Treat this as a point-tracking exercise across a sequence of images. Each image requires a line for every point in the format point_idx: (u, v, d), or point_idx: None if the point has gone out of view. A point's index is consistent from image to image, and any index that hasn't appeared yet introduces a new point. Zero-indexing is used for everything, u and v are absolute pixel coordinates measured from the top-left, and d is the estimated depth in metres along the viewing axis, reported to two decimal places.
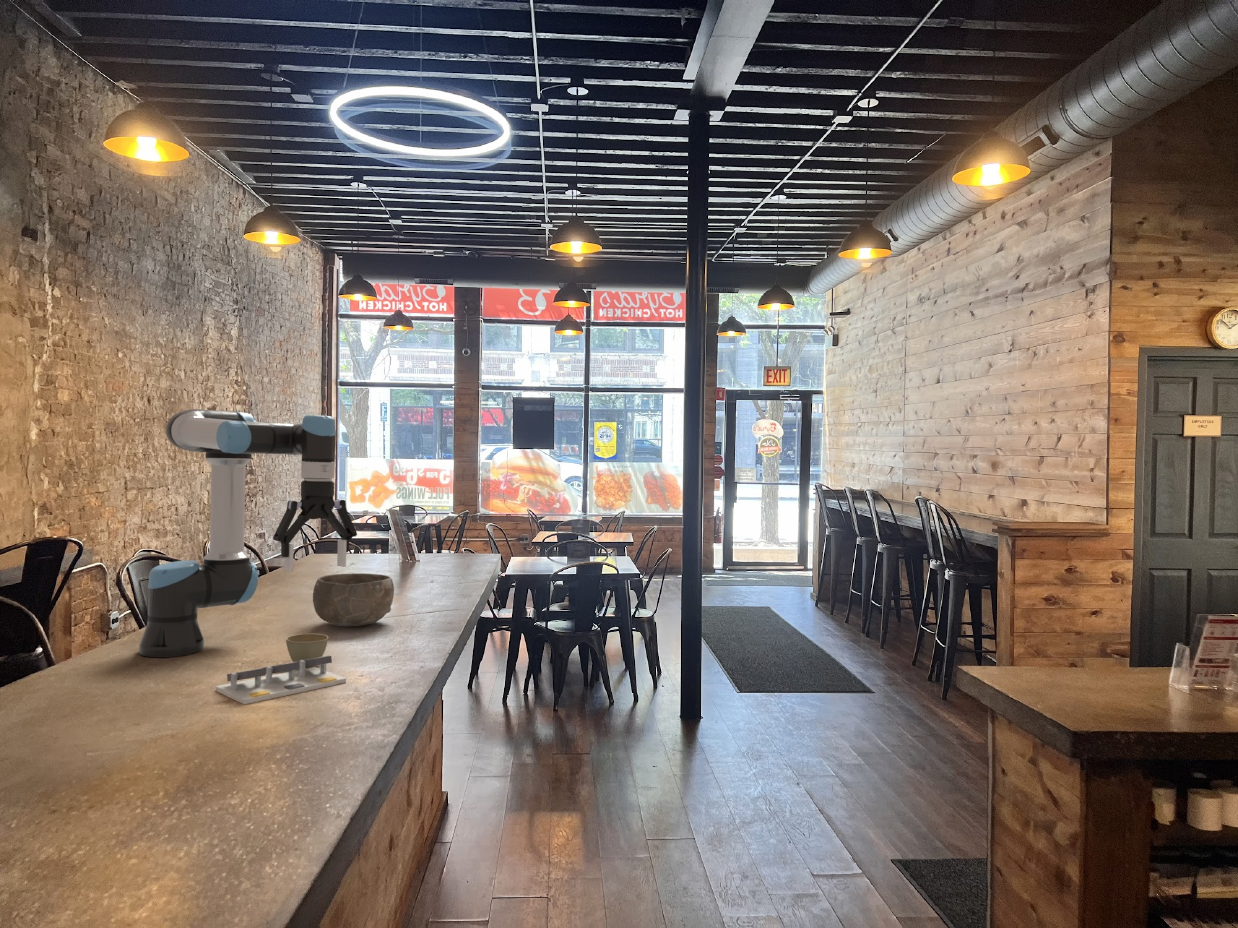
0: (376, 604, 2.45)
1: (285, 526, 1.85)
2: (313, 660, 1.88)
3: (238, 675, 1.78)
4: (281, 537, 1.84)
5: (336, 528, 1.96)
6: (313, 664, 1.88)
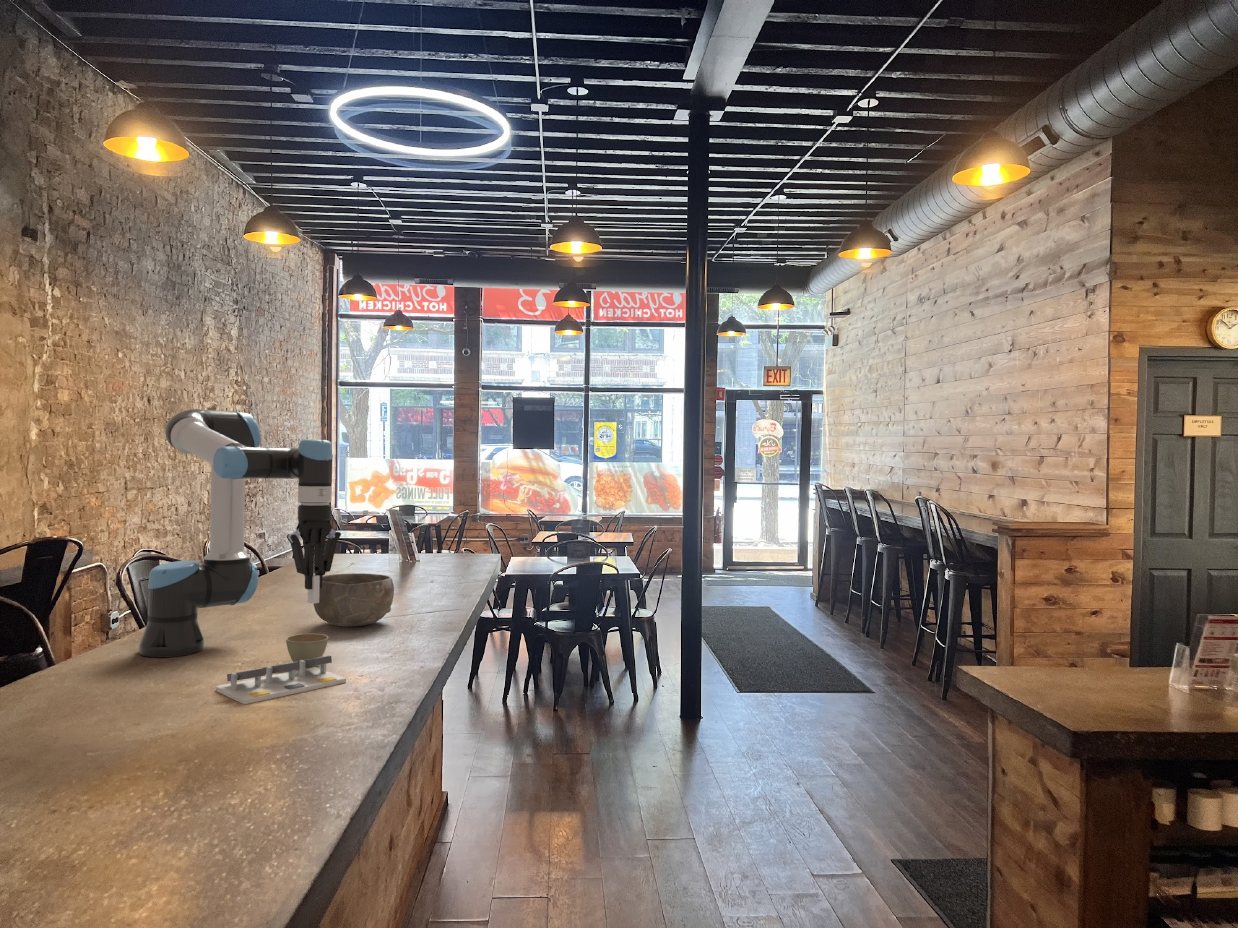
0: (376, 604, 2.45)
1: (300, 559, 1.88)
2: (313, 660, 1.88)
3: (238, 675, 1.78)
4: (304, 570, 1.89)
5: (317, 558, 1.93)
6: (313, 664, 1.88)
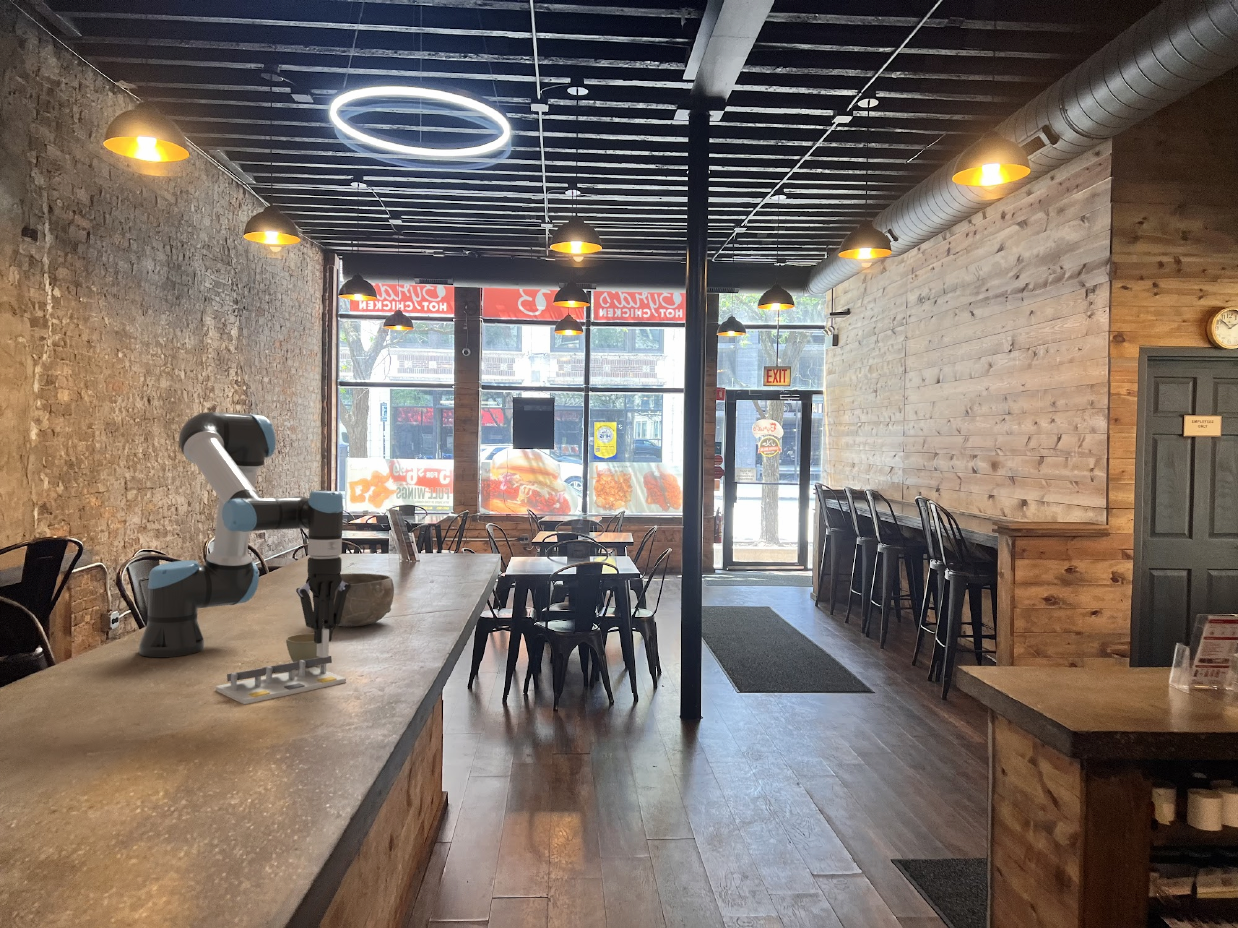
0: (376, 604, 2.45)
1: (310, 614, 1.85)
2: (313, 660, 1.88)
3: (238, 675, 1.78)
4: (313, 624, 1.86)
5: (326, 611, 1.90)
6: (313, 664, 1.88)
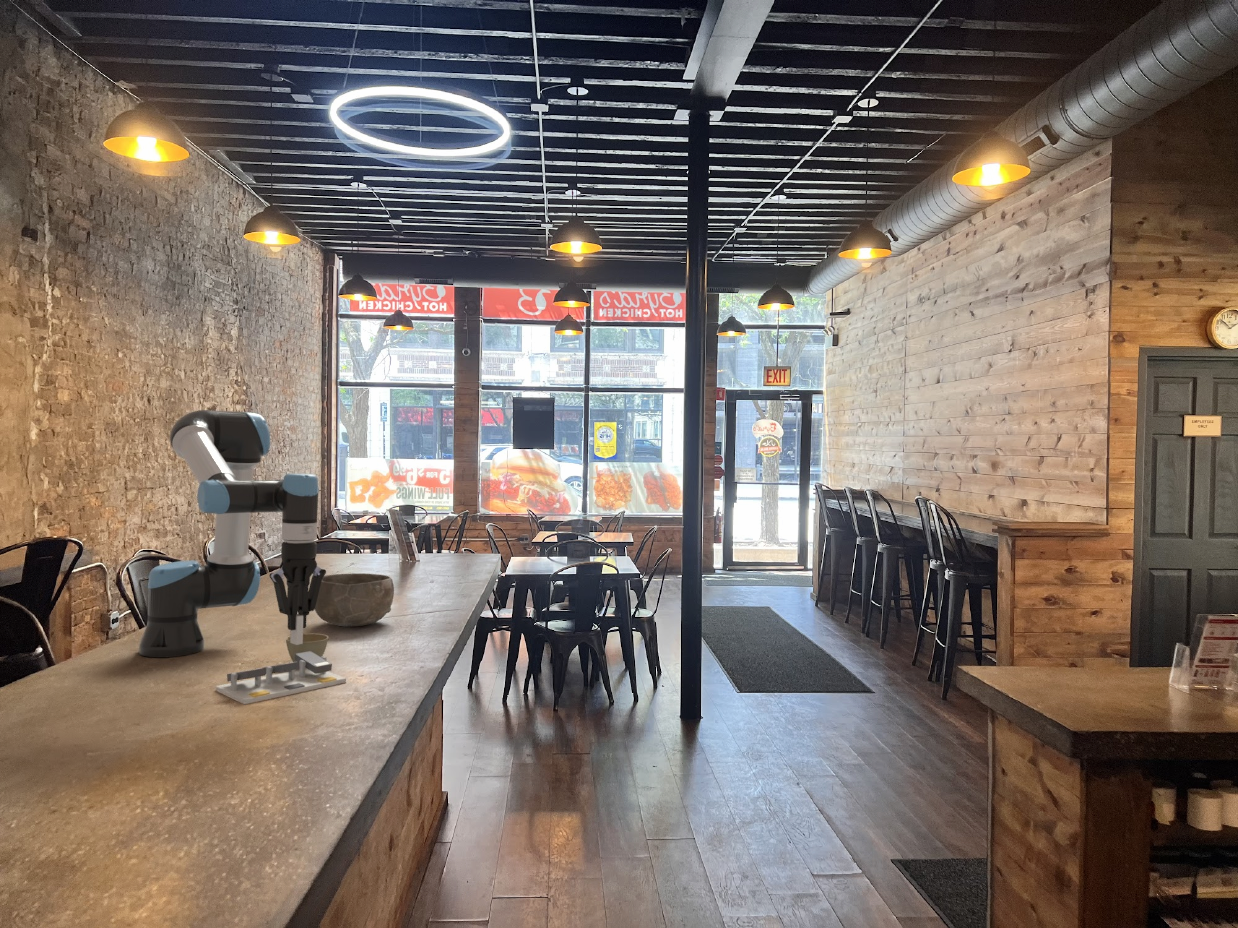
0: (376, 604, 2.45)
1: (284, 600, 1.80)
2: (313, 667, 1.88)
3: (238, 675, 1.78)
4: (287, 610, 1.81)
5: (300, 597, 1.85)
6: (313, 670, 1.88)
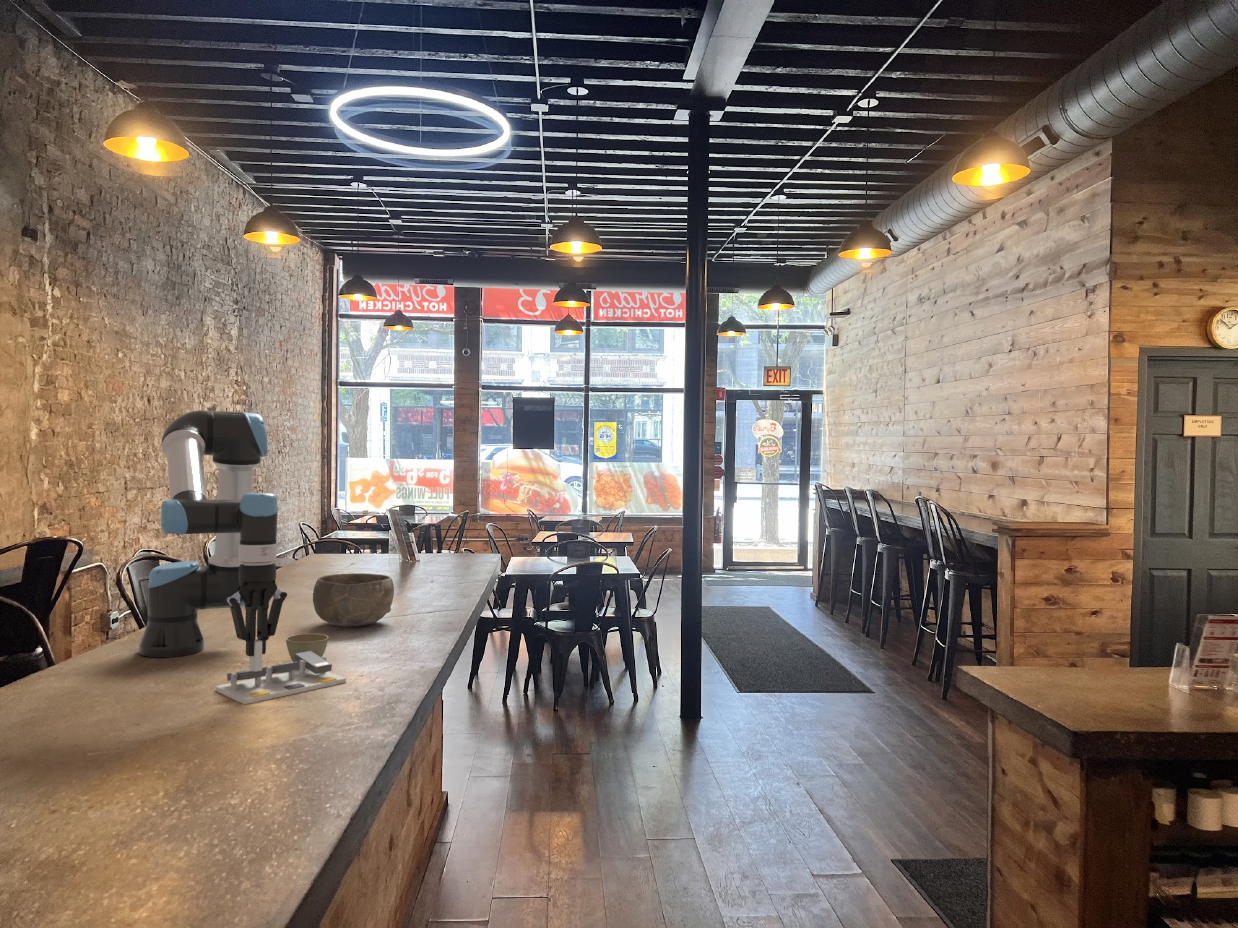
0: (376, 604, 2.45)
1: (240, 624, 1.73)
2: (313, 667, 1.88)
3: (238, 675, 1.78)
4: (244, 635, 1.74)
5: (260, 621, 1.77)
6: (313, 670, 1.88)
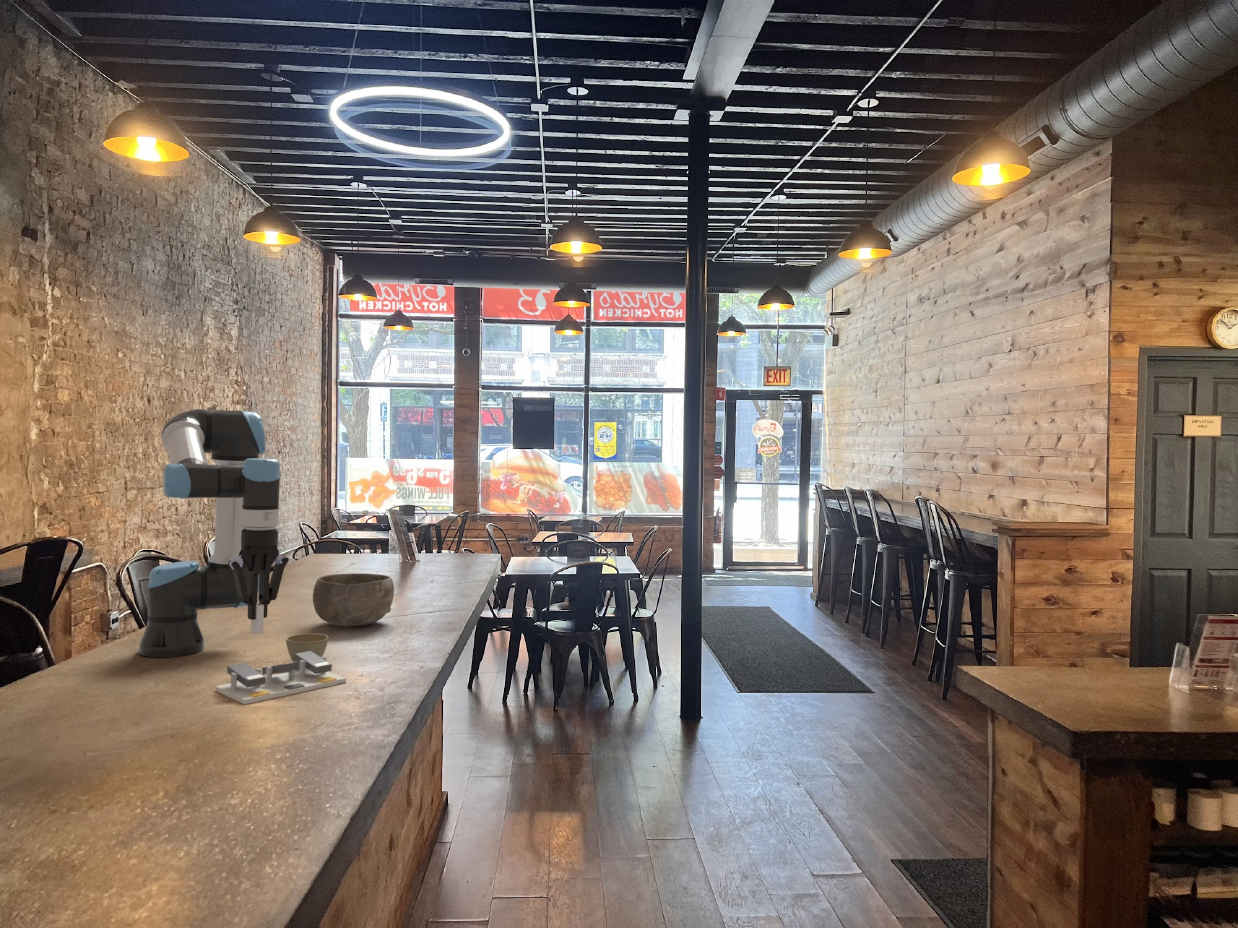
0: (376, 604, 2.45)
1: (242, 588, 1.75)
2: (313, 667, 1.88)
3: (238, 676, 1.78)
4: (246, 599, 1.76)
5: (261, 585, 1.79)
6: (313, 670, 1.88)
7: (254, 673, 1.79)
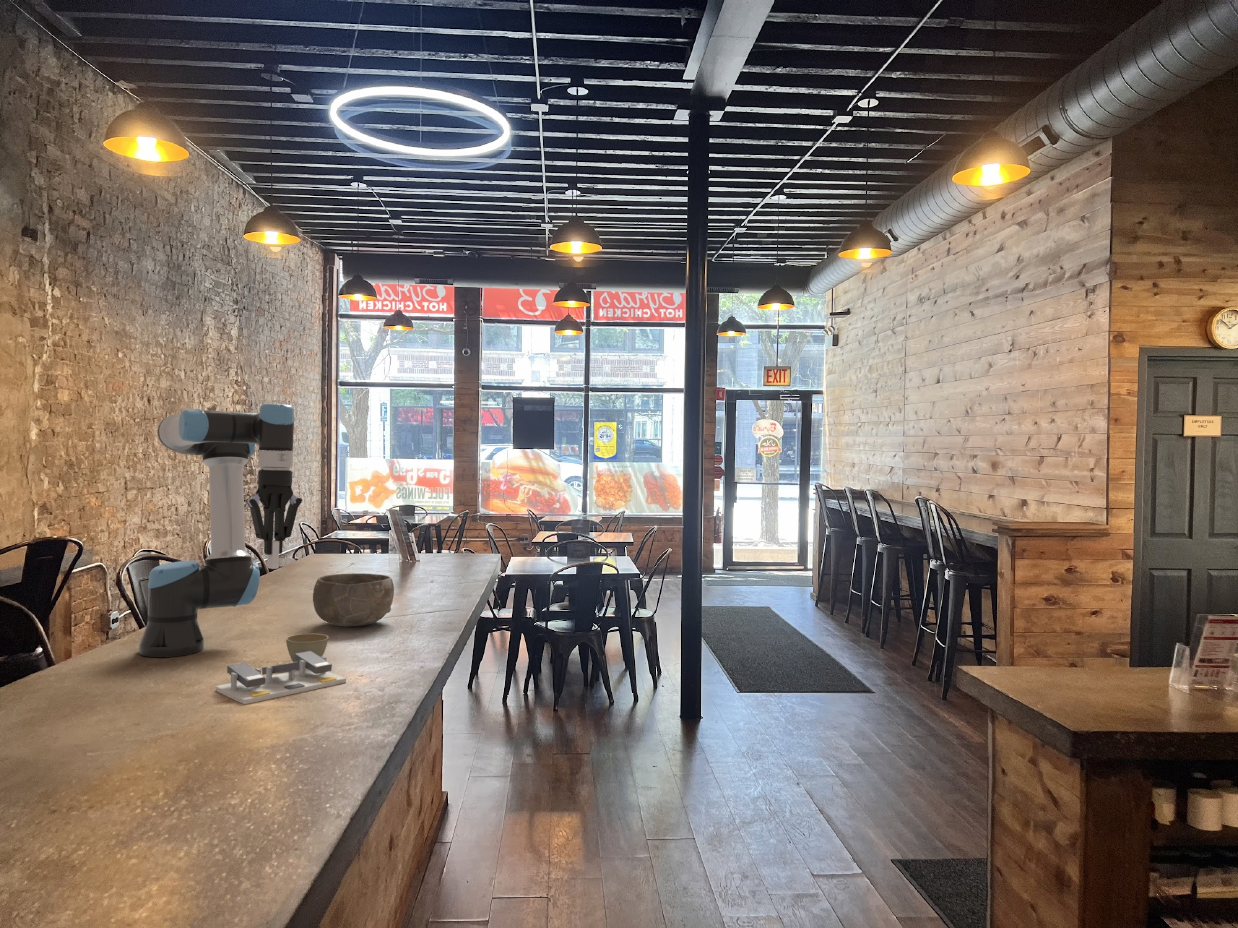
0: (376, 604, 2.45)
1: (259, 524, 1.87)
2: (313, 667, 1.88)
3: (238, 676, 1.78)
4: (263, 535, 1.88)
5: (277, 523, 1.91)
6: (313, 670, 1.88)
7: (254, 673, 1.79)
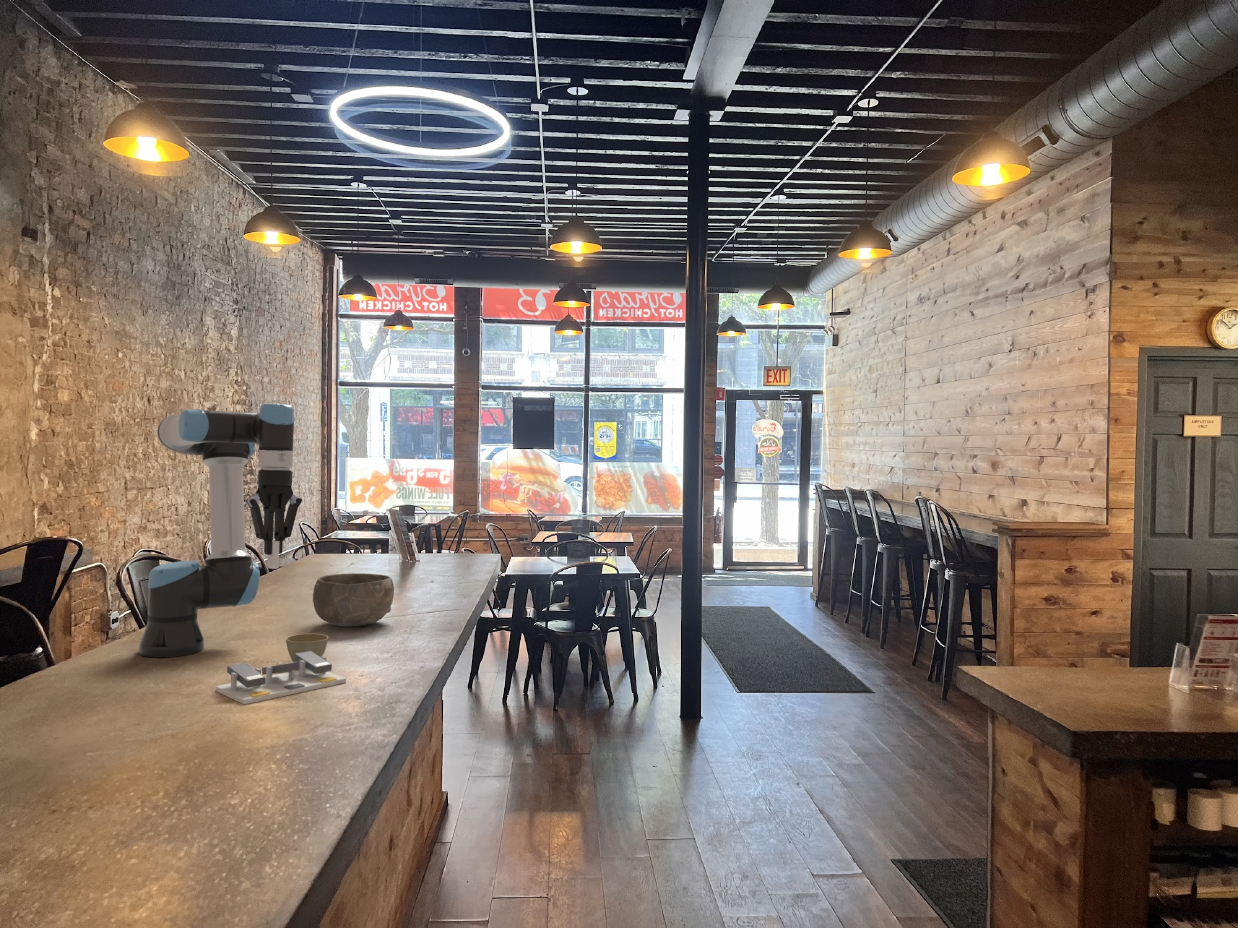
0: (376, 604, 2.45)
1: (259, 524, 1.87)
2: (313, 667, 1.88)
3: (238, 676, 1.78)
4: (263, 535, 1.88)
5: (277, 523, 1.91)
6: (313, 670, 1.88)
7: (254, 673, 1.79)
